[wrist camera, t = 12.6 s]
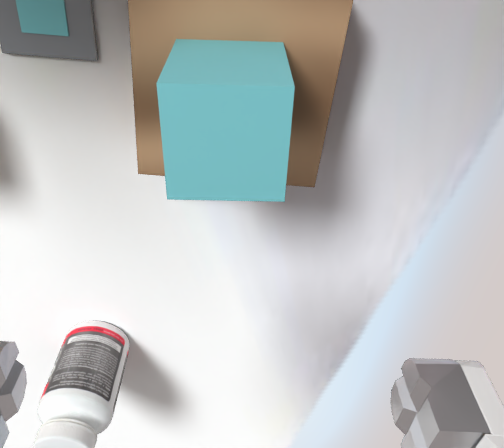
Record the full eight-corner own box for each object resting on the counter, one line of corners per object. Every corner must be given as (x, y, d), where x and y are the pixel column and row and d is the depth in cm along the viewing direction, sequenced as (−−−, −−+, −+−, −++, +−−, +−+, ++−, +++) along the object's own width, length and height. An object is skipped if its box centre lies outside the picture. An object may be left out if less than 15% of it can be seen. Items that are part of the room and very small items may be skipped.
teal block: (176, 39, 21) (156, 82, 16) (283, 42, 21) (294, 86, 17) (182, 137, 24) (167, 199, 19) (276, 139, 24) (284, 201, 20)
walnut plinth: (143, -40, 23) (126, -28, 20) (339, -19, 23) (354, -4, 20) (150, 141, 29) (138, 173, 26) (306, 154, 29) (314, 187, 26)
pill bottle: (55, 323, 38) (6, 437, 30) (116, 313, 37) (81, 427, 29) (83, 363, 41) (45, 475, 33) (139, 354, 40) (114, 466, 33)
